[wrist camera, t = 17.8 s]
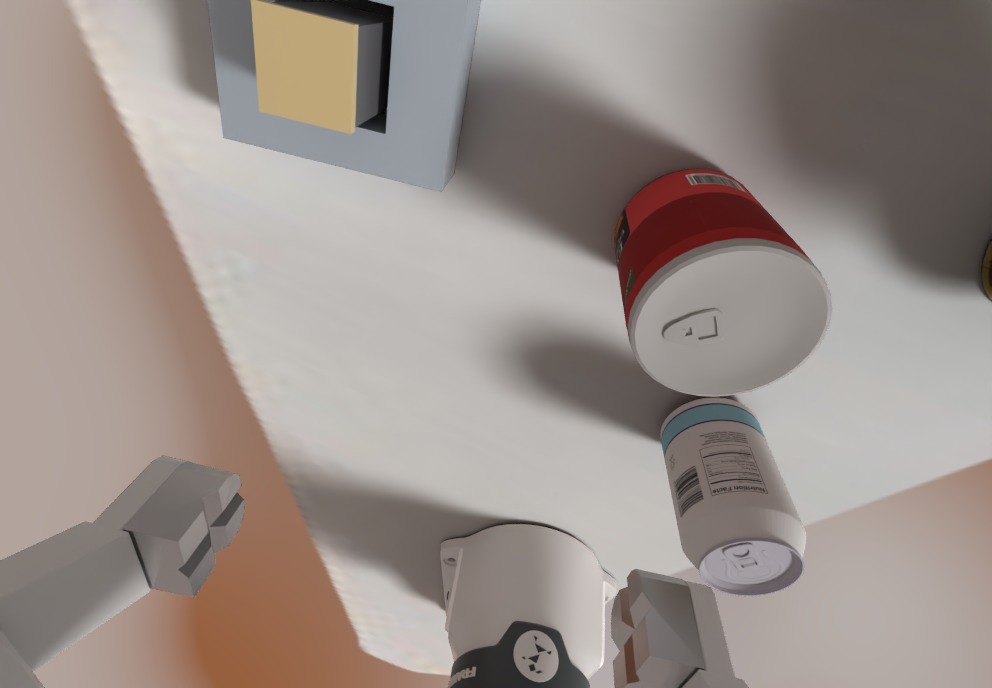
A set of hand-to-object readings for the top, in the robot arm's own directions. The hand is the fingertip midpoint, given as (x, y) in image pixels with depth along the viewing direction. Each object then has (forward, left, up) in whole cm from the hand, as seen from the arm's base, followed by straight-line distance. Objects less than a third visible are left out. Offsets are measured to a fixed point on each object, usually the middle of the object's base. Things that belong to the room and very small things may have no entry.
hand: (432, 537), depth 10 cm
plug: (+5, +10, -24) cm, 26 cm away
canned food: (0, -10, -24) cm, 26 cm away
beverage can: (-14, -18, -24) cm, 33 cm away
